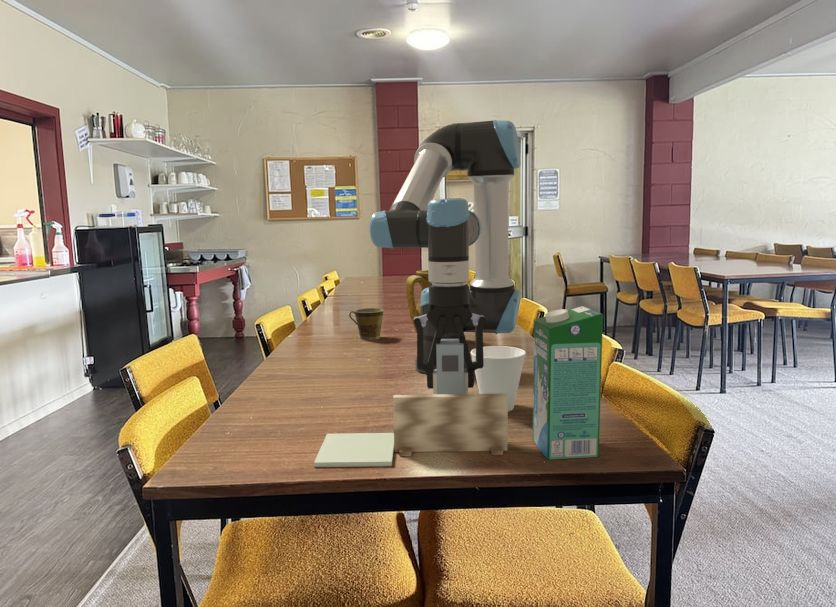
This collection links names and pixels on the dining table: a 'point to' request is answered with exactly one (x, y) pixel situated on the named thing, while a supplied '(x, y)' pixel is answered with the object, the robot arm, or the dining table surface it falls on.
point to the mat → (356, 450)
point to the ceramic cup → (368, 322)
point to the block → (450, 366)
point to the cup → (500, 371)
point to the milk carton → (567, 383)
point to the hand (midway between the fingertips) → (450, 403)
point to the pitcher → (411, 280)
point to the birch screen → (450, 423)
